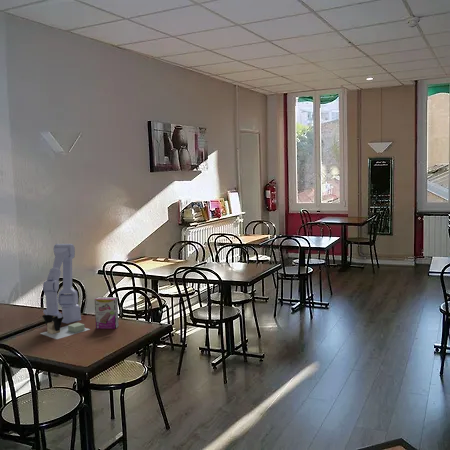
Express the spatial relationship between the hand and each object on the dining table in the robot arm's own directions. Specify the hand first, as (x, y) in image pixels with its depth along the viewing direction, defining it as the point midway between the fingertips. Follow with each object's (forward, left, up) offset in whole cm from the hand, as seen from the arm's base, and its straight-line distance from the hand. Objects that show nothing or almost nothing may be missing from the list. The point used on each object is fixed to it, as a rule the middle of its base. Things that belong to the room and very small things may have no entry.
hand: (53, 329), depth 273 cm
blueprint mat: (-5, +3, -2) cm, 6 cm away
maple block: (0, 0, -2) cm, 2 cm away
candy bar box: (-22, +16, -2) cm, 27 cm away
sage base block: (-9, +7, -2) cm, 12 cm away
